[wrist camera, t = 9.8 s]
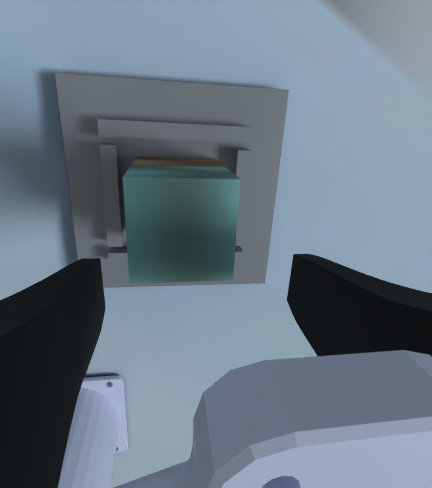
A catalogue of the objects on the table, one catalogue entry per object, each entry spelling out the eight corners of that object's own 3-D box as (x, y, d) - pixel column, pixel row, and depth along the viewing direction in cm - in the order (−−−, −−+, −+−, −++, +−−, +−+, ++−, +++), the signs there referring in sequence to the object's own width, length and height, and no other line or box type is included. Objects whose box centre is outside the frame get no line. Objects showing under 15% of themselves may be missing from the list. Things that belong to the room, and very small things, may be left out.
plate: (85, 280, 21) (77, 296, 19) (61, 75, 16) (47, 69, 14) (260, 276, 22) (269, 290, 21) (282, 91, 18) (295, 88, 16)
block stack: (140, 231, 19) (129, 283, 13) (137, 156, 17) (122, 177, 11) (212, 231, 20) (233, 280, 14) (216, 159, 18) (240, 179, 12)
